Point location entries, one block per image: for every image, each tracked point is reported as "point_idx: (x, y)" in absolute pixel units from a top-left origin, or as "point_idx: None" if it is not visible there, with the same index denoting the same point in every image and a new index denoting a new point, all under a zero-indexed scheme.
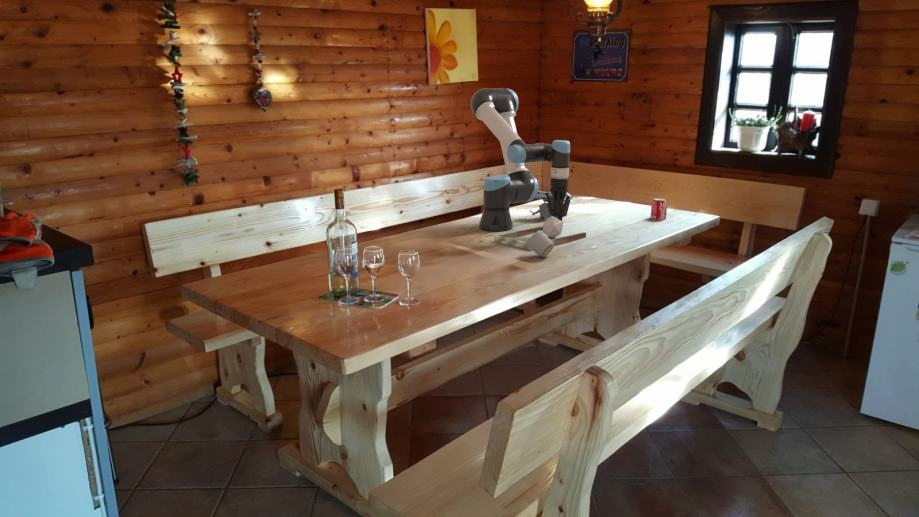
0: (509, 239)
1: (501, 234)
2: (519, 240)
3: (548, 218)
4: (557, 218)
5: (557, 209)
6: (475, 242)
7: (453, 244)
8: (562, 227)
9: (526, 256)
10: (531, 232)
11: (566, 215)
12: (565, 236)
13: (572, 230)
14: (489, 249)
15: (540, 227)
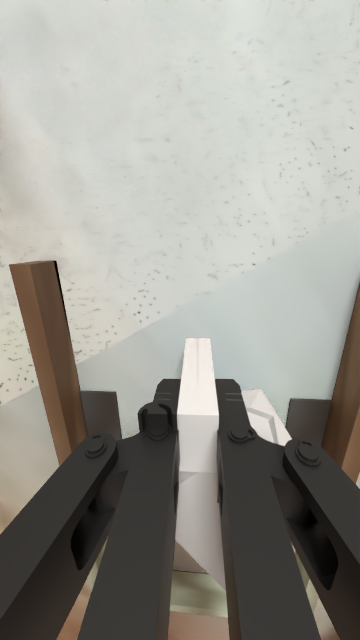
0: (177, 609)
1: (90, 579)
2: (221, 610)
3: (195, 559)
4: (216, 463)
5: (167, 554)
6: (78, 597)
7: (66, 632)
8: (288, 433)
9: (326, 637)
10: (77, 420)
11: (327, 455)
12: (347, 461)
13: (131, 64)
14: (180, 629)
15: (51, 361)
